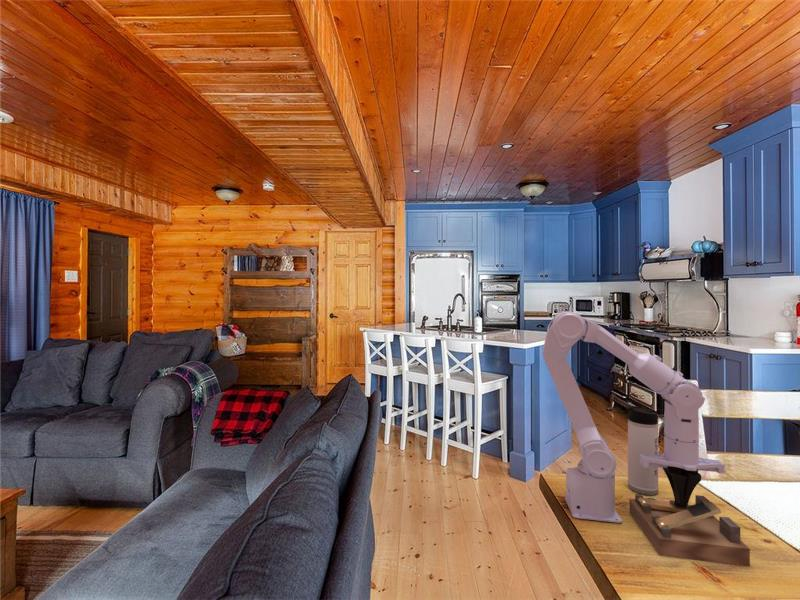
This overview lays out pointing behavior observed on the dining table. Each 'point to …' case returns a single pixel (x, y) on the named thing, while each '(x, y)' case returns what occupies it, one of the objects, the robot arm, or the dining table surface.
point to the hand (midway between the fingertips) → (680, 504)
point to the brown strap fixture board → (692, 535)
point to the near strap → (688, 515)
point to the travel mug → (642, 449)
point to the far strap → (662, 504)
